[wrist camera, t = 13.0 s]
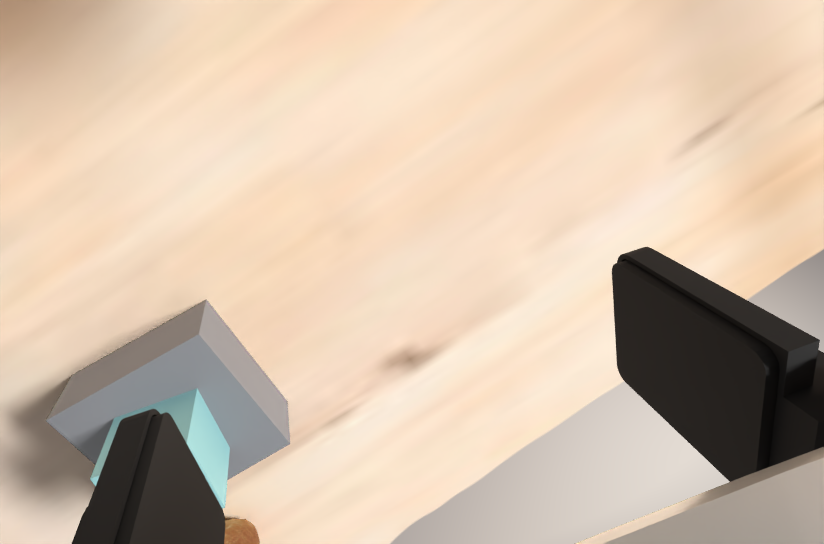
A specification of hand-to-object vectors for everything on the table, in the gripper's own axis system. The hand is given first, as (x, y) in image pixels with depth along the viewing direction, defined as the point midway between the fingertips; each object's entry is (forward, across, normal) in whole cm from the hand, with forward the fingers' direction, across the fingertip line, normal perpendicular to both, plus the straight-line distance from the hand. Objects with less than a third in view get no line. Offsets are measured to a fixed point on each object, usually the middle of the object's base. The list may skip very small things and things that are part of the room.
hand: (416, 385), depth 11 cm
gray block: (+32, +16, +18) cm, 40 cm away
